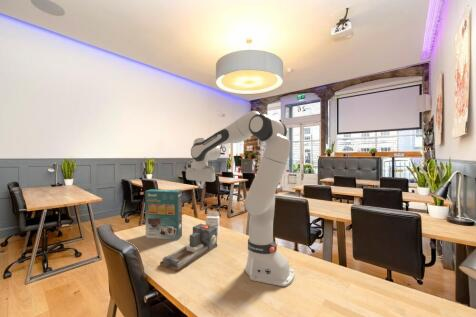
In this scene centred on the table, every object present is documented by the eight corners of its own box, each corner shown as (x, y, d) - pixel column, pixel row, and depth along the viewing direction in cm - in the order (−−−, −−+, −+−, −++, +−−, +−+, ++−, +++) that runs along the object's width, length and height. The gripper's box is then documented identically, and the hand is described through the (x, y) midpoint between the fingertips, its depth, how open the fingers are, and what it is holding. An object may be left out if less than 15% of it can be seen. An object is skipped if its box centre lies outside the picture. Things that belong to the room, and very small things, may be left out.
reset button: (209, 228, 127) (209, 226, 127) (205, 231, 123) (205, 228, 123) (204, 227, 129) (204, 225, 128) (199, 229, 125) (199, 227, 125)
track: (217, 246, 127) (217, 227, 126) (178, 272, 100) (178, 247, 99) (201, 242, 133) (201, 223, 132) (160, 265, 106) (159, 241, 105)
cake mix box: (182, 235, 142) (181, 190, 141) (178, 239, 136) (177, 192, 135) (150, 233, 145) (150, 189, 144) (145, 237, 139) (145, 190, 138)
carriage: (203, 248, 120) (203, 233, 119) (196, 253, 114) (196, 237, 114) (193, 246, 123) (193, 231, 123) (186, 250, 118) (186, 234, 118)
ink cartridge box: (205, 234, 144) (205, 212, 144) (207, 232, 149) (207, 210, 149) (218, 235, 143) (218, 213, 143) (219, 232, 148) (219, 211, 148)
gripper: (217, 165, 128) (217, 189, 129) (191, 164, 138) (191, 186, 139) (211, 166, 123) (211, 190, 123) (184, 164, 133) (184, 187, 133)
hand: (200, 188), depth 131 cm, fingers closed
